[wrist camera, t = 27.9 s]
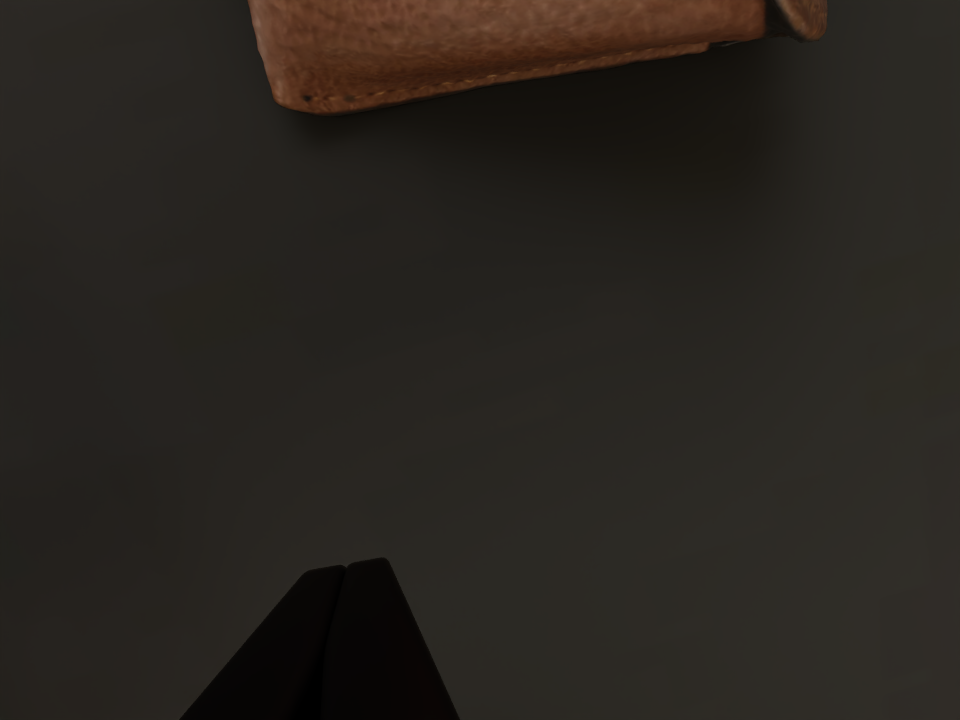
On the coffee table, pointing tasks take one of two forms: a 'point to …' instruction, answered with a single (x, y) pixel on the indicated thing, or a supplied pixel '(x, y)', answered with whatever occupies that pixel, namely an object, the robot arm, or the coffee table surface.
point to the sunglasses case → (489, 42)
